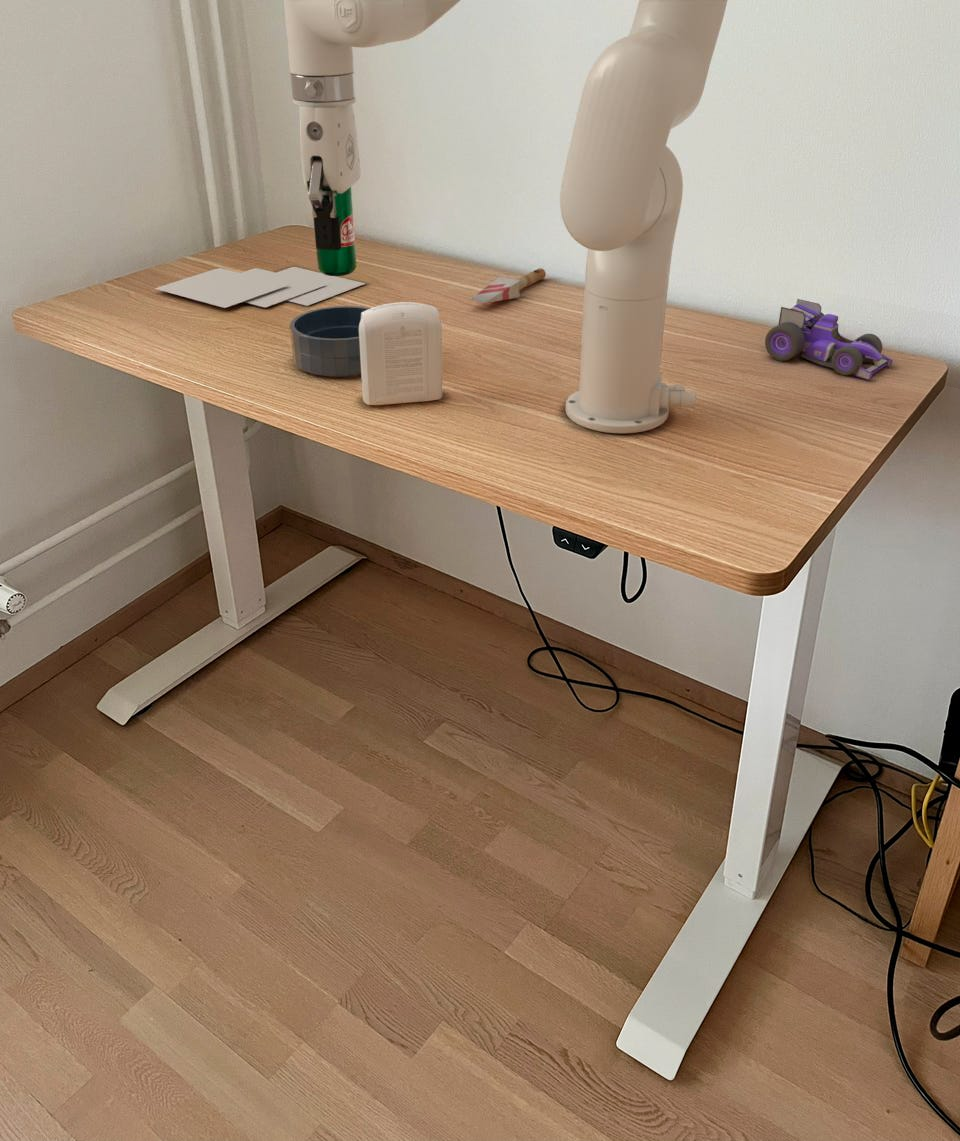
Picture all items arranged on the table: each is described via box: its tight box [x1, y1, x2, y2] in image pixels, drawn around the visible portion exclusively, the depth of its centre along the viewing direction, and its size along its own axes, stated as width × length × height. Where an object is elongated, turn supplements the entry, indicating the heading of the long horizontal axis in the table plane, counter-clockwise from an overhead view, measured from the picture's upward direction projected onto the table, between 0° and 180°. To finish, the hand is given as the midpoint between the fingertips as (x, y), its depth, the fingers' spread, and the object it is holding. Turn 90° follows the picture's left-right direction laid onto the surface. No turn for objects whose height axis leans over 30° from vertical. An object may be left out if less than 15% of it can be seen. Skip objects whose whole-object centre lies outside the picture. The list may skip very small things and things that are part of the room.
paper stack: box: [154, 266, 366, 309], centre depth 167 cm, size 23×25×1 cm
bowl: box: [289, 305, 372, 378], centre depth 139 cm, size 14×14×6 cm
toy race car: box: [764, 298, 894, 381], centre depth 138 cm, size 10×15×6 cm, turn 48°
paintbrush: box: [469, 267, 547, 304], centre depth 164 cm, size 4×3×20 cm
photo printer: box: [359, 301, 443, 406], centre depth 126 cm, size 10×4×12 cm, turn 103°
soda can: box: [312, 186, 357, 277], centre depth 131 cm, size 5×5×12 cm
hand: (335, 241), depth 132 cm, fingers closed on soda can, 5 cm apart
